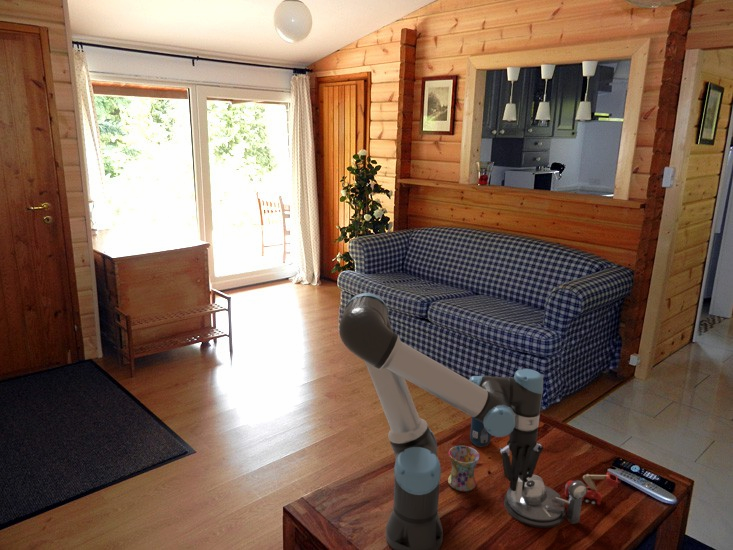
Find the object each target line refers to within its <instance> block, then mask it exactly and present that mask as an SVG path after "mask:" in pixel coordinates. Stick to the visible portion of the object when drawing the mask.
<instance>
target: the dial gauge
mask: <svg viewBox="0 0 733 550" xmlns="http://www.w3.org/2000/svg"><path fill="white" fill-rule="evenodd" d="M572 481H573V482H572V483H571V484H570V485H569V487H568V492H569V494H570V495H569V497H568V500H566V499H564V498H562V499H561V498H558V497H556V499H555V500H557V501H560V502H563V503H564V504H565V505H566V504H567V510H566V516H565V519H566V520H567V521H568V522H569V524H570V525H574V524H578V523H580V516H581V511H582V503H583V501H582V498H583V497H584V496H585V495H586V493H587V487H586V486H587V484H585V483H584V482H583V481H581V480H579V479H577V480H572Z"/></svg>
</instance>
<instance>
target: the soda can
mask: <svg viewBox="0 0 733 550" xmlns="http://www.w3.org/2000/svg"><path fill="white" fill-rule="evenodd" d="M470 421H471V423H470V433H469V435H470V436H469V439H470V441H471V443H472V445H474V446H476V447H479V448H482V447H487V446H488V445H489V444H490V442H491V440H492V439H491V437H492V435H491V434H489V433H488V432H487V430H486V428H485V427H484V424H483V423H482V422H480V421H478V420H476V419H475V418H473V417H471V420H470Z"/></svg>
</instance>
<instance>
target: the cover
mask: <svg viewBox="0 0 733 550" xmlns="http://www.w3.org/2000/svg"><path fill="white" fill-rule="evenodd" d="M526 479H527V480H528V481H527V482H525V486H524V489H523V490H522V493H521V495H522V497H523V500H524V501H525V502H526V503H527V504H530V505H538V504H541V503H542V502H544V501H545V500H546V498H547V491H546V488H545V486H546V485H545V483H544V481H543V478H542V477H541V476H539V475H537V474H534V473H533V475H532V477H531V478H529V477H528V478H526ZM544 485H545V486H544Z"/></svg>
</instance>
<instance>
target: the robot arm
mask: <svg viewBox="0 0 733 550" xmlns="http://www.w3.org/2000/svg"><path fill="white" fill-rule="evenodd" d="M338 327H339V328H338V329H339V330H338V331H339V336H340V339H341V341H342V343H343V345H344V346H345V347H346V349H347V350H349V351H350V352H351V353H353V355H355V356H356V357H357V358H359V359H361V360H363V361H364V364H365V366H366V368H367V371H368V374H369V376H370V379H371V382H372V384H373V387H374V389H375V392H376V395H377V397H378V399H379V402H380V405H381V407H382V410H383V413H384V415H385V417H386V420H387V422H388V425H389V428H390V430H389V432H388V434H387V437H388V441H389V443H390V445H391V449H392V452H393V453H394V457H395V463H394V466H393V467H394V469H393V473H394V483H393V486H394V487H393V509H392V511H391V513H390V515H389V517H388V520H387V522H386V525H385V539H386V542H387V543H388V545H389V546H390V548H391V549H393V550H439V549H440V548H441V546H442V544H443V538H444V531H443V526H442V523H441V519H440V516H439V513H438V511H439V510H438V509H439V496H440V495H439V494H440V480H441V476H442V468H441V464H440V463H441V462H440V459H439V458H438V442H437V439H436V436H435V435H434V432H433V431H432V430H431V428H430V427H429V425H428V422H427V421H426V420H425V419H423V418H421V417H420V416H419V413H418V411H417V408H416V405H415V403H414V400H413V397H412V394H411V392H410V389H409V386H408V383H407V381H408V382H410V383H412V384H413V385H415V386H416V387H419V388H420V389H422V390H424V391H426V392H428V393H429V394H430V395H432V396H435V397H436V398H438V399H440V400H441V401H442V402H445V403H447V404H449V405H450V406H452V407H453V408H456V409H457V410H459V411H461V412H463V413H464V414H466V415H468V416H470V417H471V418H472V417H473V418H475V419H476V420H478V421H480V422H482V423H483V424H484V427H485V428H486V430H487V432H488V433H489V434H491V437H492V436H493V437H496V438H502V437H507V436H508V441H507V443H506V446H504V447H499V448H498V452H499V453H500V454H501V460H502V467H503V474H504V477H506V479H507V480H508V481H509V488H511V490H512V491H511V497H512V498H513V500H514V501H515V502H521V493H522V490H523V489H524V486H525V482H527V481H528V480H527V479H526V478H528V477H529V478H531V477H532V475H533V474H534V472H535V470H536V467H537V464H538V461H539V458H540V455H541V454H542V453H543V451H544V446H543V445H542V444H540V442H537V439H538V433H539V423H540V414H541V405H542V400H543V394H544V376H543V375H542V373H540V372H538V371H536V370H534V369H531V368H522V369H521V368H519V369H517V370H516V371H515V373H514V376H513V377H512V376H511V377H503V376H486V375H472V376H470V378H469V379H468V378H466V377H464V376H462V375H460V374H459V373H457V372H455V371H453V369H450V368H449V367H448V366H447V367H446V366H445V365H443V364H442V363H440V362H438V361H437V360H434V359H433V358H431V357H429V356H427V355H426V354H424V353H423V352H420V351H419V350H417V349H415V348H413V347H411V346H409V344H406V343H405V342H403V341H401V339H400V338H401V337H400V335H399V334H398V333H396V332H394V330H393V326H392V325H391V322H390V320H389V309H388V306H387V304H386V302H385V301H384V300H383V298H381V297H380V296H378V295H376V294H375V293H369V292H363V293H359V294H356V295H354V296H353V297H352V298H351V299H350V300H349V301H348V302H347V303H346V305H345V307H344V310H343V314H342V317H341V319H340V323H339V326H338ZM510 452H511V458H510Z"/></svg>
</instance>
